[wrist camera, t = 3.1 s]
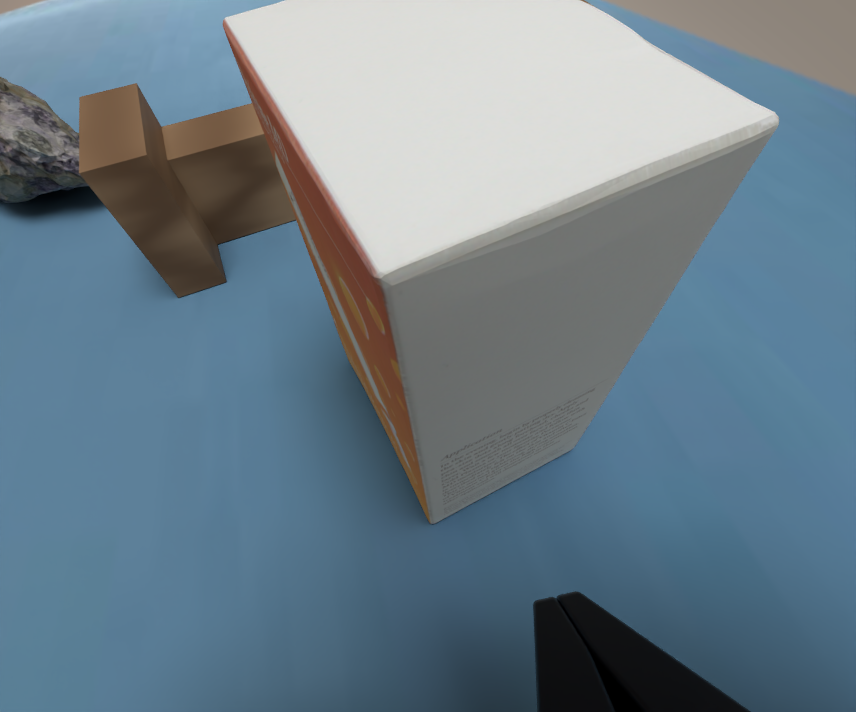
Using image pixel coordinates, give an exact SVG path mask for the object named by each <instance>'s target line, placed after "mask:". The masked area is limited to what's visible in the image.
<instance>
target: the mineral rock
mask: <svg viewBox="0 0 856 712" xmlns="http://www.w3.org/2000/svg"><path fill="white" fill-rule="evenodd" d="M83 186H89V185H88V184H87V183H86V181H85V180H84V179H83V178H82V176H81V175H80V174H79V133H77V132H75V131H74V130H73V129H72V128H71V127H70V126H69V125H68V124H67V123H65V122H64V121H63V120H62V119H60V118H59V117H58V116H57V115H56V114H55V113H54V112H53V110H52V109H51V108H50V106H49V105H48V104H47V103H46V101H44V100H42V99H40V98H39V97H37V96H36V95H34V94H33V93H31V92H29V91H28V90H26V89H24V88H23V87H21V86H17V85H14V84H11V83H9V82H8V81H7V80H6V79H4V78H2V77H0V201H3V202H5V203H12V202H24V201H28V200H31V199H33V198H35V197H36V196H38V195H39V194H44V193H49V192H52V191H58V190H59V189H63V190H71V189H74V187H75V188H76V187H83Z"/></svg>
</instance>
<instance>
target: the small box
mask: <svg viewBox="0 0 856 712" xmlns="http://www.w3.org/2000/svg"><path fill="white" fill-rule="evenodd" d="M223 27H224V30H225V33H226V36H227V38H228V41H229V44H230V46H231V49H232V51H233V54H234V57H235V59H236V62H237V64H238V67H239V69H240V72H241V75H242V77H243V80H244V82H245V85H246V88H247V90H248V93H249V95H250V98H251V101H252V103H253V106H254V109H255V111H256V114H257V116H258V119H259V122H260V124H261V127H262V130H263V132H264V135H265V138H266V140H267V143H268V145H269V148H270V151H271V153H272V156H273V159H274V161H275V164H276V167H277V169H278V172H279V175H280V178H281V180H282V183H283V186H284V188H285V191H286V194H287V196H288V199H289V202H290V204H291V207H292V210H293V212H294V215H295V218H296V220H297V223H298V226H299V228H300V231H301V234H302V236H303V239H304V242H305V244H306V247H307V250H308V252H309V255H310V258H311V260H312V263H313V266H314V268H315V271H316V273H317V276H318V279H319V281H320V284H321V286H322V289H323V292H324V294H325V297H326V300H327V302H328V305H329V308H330V311H331V314H332V317H333V320H334V323H335V325H336V328H337V331H338V334H339V336H340V339H341V342H342V344H343V347H344V349H345V352H346V355H347V357H348V360H349V362H350V364H351V366H352V367H353V369H354V371H355V373H356V374H357V376H358V378H359V380H360V381H361V383H362V385H363V387H364V389H365V391H366V393H367V395H368V397H369V399H370V401H371V403H372V405H373V407H374V409H375V411H376V413H377V415H378V417H379V419H380V421H381V423H382V425H383V427H384V429H385V431H386V433H387V435H388V437H389V439H390V441H391V443H392V445H393V447H394V449H395V451H396V454H397V456H398V458H399V460H400V462H401V464H402V466H403V468H404V470H405V472H406V474H407V476H408V478H409V481H410V483H411V485H412V487H413V489H414V491H415V493H416V495H417V497H418V500H419V502H420V504H421V506H422V508H423V510H424V513H425V515H426V517H427V519H428V521H429V522H430V523H431V524H435V523H437V522H439V521H441V520H442V519H444V518H446V517H448V516H450V515H451V514H453V513H455V512H457V511H459V510H461V509H463V508H464V507H466V506H468V505H470V504H472V503H474V502H476V501H477V500H479V499H481V498H483V497H485V496H487V495H489V494H490V493H492V492H494V491H496V490H498V489H500V488H501V487H503V486H505V485H507V484H509V483H511V482H513V481H514V480H516V479H518V478H520V477H522V476H524V475H525V474H527V473H529V472H531V471H533V470H535V469H537V468H539V467H541V466H542V465H544V464H546V463H548V462H550V461H552V460H553V459H555V458H557V457H559V456H561V455H563V454H565V453H567V452H568V451H570V450H572V449H573V448H574V447H575V446H576V444H577V443H578V441H579V439H580V438H581V436H582V435H583V433H584V432H585V430H586V429H587V427H588V425H589V424H590V422H591V421H592V419H593V418H594V416H595V414H596V413H597V411H598V410H599V408H600V407H601V405H602V404H603V402H604V400H605V399H606V397H607V395H608V394H609V392H610V391H611V389H612V388H613V386H614V384H615V383H616V381H617V379H618V378H619V376H620V374H621V373H622V371H623V369H624V368H625V366H626V364H627V363H628V361H629V359H630V358H631V356H632V355H633V353H634V351H635V350H636V348H637V347H638V345H639V343H640V342H641V341H642V339H643V337H644V336H645V334H646V332H647V331H648V329H649V328H650V326H651V325H652V323H653V322H654V320H655V319H656V317H657V315H658V314H659V312H660V311H661V309H662V307H663V306H664V304H665V302H666V301H667V299H668V298H669V296H670V294H671V293H672V291H673V290H674V288H675V286H676V285H677V283H678V282H679V280H680V278H681V277H682V275H683V273H684V272H685V270H686V269H687V267H688V265H689V264H690V262H691V261H692V259H693V257H694V256H695V254H696V253H697V251H698V249H699V248H700V246H701V244H702V243H703V241H704V240H705V238H706V236H707V235H708V233H709V232H710V230H711V229H712V227H713V225H714V224H715V222H716V221H717V219H718V218H719V216H720V215H721V213H722V212H723V210H724V209H725V207H726V206H727V204H728V202H729V200H730V199H731V197H732V195H733V194H734V192H735V191H736V189H737V188H738V186H739V185H740V183H741V181H742V180H743V178H744V177H745V175H746V174H747V172H748V171H749V169H750V168H751V166H752V165H753V163H754V162H755V160H756V159H757V157H758V156H759V154H760V153H761V151H762V150H763V148H764V147H765V145H766V143H767V142H768V140H769V139H770V137H771V136H772V134H773V133H774V131H775V130H776V128H777V127H778V124H779V117H778V116H777V115H776V113H775V112H773V111H771V110H769V109H767V108H765V107H763V106H761V105H758V104H756V103H754V102H752V101H750V100H749V99H747V98H745V97H743V96H742V95H740V94H738V93H737V92H735V91H733V90H731V89H729V88H728V87H726V86H724V85H722V84H721V83H719V82H717V81H715V80H714V79H712V78H710V77H708V76H707V75H705V74H703V73H701V72H700V71H698V70H696V69H694V68H693V67H691V66H689V65H687V64H686V63H684V62H682V61H680V60H678V59H677V58H675V57H673V56H671V55H670V54H668V53H666V52H664V51H662V50H661V49H659V48H657V47H656V46H654V45H652V44H651V43H649V42H647V41H646V40H645V39H643V38H642V37H641V36H639V35H638V34H637V33H636V32H634V31H633V30H632V29H630V28H629V27H627V26H626V25H624V24H622V23H621V22H619V21H618V20H616V19H615V18H613V17H612V16H610V15H608V14H606V13H604V12H603V11H601V10H599V9H597V8H595V7H594V6H592V5H590V4H587V3H585V2H583V1H580V0H286V1H282V2H279V3H276V4H272V5H268V6H265V7H261V8H258V9H254V10H251V11H247V12H244V13H240V14H237V15H233V16H230V17H226V18H225V19H224V20H223Z"/></svg>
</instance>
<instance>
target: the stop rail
mask: <svg viewBox="0 0 856 712" xmlns="http://www.w3.org/2000/svg"><path fill="white" fill-rule="evenodd" d="M580 1H583V2H585V3H587V4H589V3H588V2H586V1H584V0H580ZM590 5H591V4H590ZM592 6H593V5H592ZM595 8H596V7H595ZM79 174H80V175H81V176H82V178H83V179H84V180H85V181H86V183H87V184H88V185H89V186H90V188H91V189H92V190H93V191H94V193H95V194H96V195H97V196H98V198H99V199H100V200H101V201H102V203H103V204H104V205H105V206H106V208H107V209H108V210H109V211H110V213H111V214H112V215H113V216H114V218H115V219H116V220H117V221H118V223H119V224H120V225H121V226H122V228H123V229H124V230H125V231H126V233H127V234H128V235H129V236H130V238H131V239H132V240H133V241H134V243H135V244H136V245H137V247H138V248H139V249H140V250H141V252H142V253H143V254H144V255H145V257H146V258H147V259H148V260H149V262H150V263H151V264H152V265H153V267H154V268H155V269H156V270H157V272H158V273H159V274H160V275H161V277H162V278H163V279H164V280H165V282H166V283H167V284H168V285H169V287H170V288H171V289H172V290H173V292H174V293H175V294H176V295H177V297H178V298H179V297H182V296H185V295H188V294H191V293H194V292H197V291H200V290H203V289H206V288H209V287H212V286H215V285H218V284H222V283H225V282H226V278H225V274H224V270H223V266H222V262H221V258H220V253H219V249H218V245H217V244H220V243H223V242H227V241H230V240H233V239H236V238H239V237H242V236H246V235H249V234H252V233H255V232H258V231H262V230H265V229H268V228H271V227H274V226H277V225H281V224H284V223H287V222H290V221H293V220H296V218H295V215H294V212H293V210H292V207H291V204H290V202H289V199H288V196H287V194H286V191H285V188H284V186H283V183H282V180H281V178H280V175H279V172H278V169H277V167H276V164H275V161H274V159H273V156H272V153H271V151H270V148H269V145H268V143H267V140H266V138H265V135H264V132H263V130H262V127H261V124H260V122H259V119H258V116H257V114H256V111H255V109H254V106H253V103H251V104H248V105H244V106H240V107H236V108H232V109H229V110H225V111H221V112H217V113H213V114H209V115H206V116H202V117H198V118H194V119H190V120H187V121H183V122H179V123H175V124H171V125H167V126H164V127H161V126H160V124H159V122H158V120H157V118H156V117H155V115H154V113H153V111H152V110H151V108H150V106H149V104H148V103H147V101H146V99H145V97H144V96H143V94H142V92H141V90H140V88H139V87H138V85H137V83H136V84H132V85H128V86H124V87H119V88H115V89H111V90H107V91H103V92H99V93H95V94H91V95H86V96H82V97H80V108H79Z"/></svg>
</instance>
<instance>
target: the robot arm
mask: <svg viewBox="0 0 856 712" xmlns="http://www.w3.org/2000/svg"><path fill="white" fill-rule="evenodd" d="M533 612H534V638H535V663H536V688H537V712H751V711H749V710H748V709H746V708H745V707H743V706H742V705H741V704H739V703H738V702H736V701H735V700H733V699H732V698H731V697H729V696H728V695H726V694H725V693H723V692H722V691H721V690H719V689H718V688H716V687H715V686H713V685H712V684H711V683H709V682H708V681H706V680H705V679H703V678H702V677H700V676H699V675H698V674H696V673H695V672H693V671H692V670H690V669H689V668H688V667H686V666H685V665H683V664H682V663H680V662H679V661H678V660H676V659H675V658H673V657H672V656H670V655H669V654H668V653H666V652H665V651H663V650H662V649H660V648H659V647H657V646H656V645H655V644H653V643H652V642H650V641H649V640H647V639H646V638H645V637H643V636H642V635H640V634H639V633H637V632H636V631H635V630H633V629H632V628H630V627H629V626H627V625H626V624H625V623H623V622H622V621H620V620H619V619H617V618H616V617H615V616H613V615H612V614H610V613H609V612H607V611H606V610H604V609H603V608H602V607H600V606H599V605H597V604H596V603H594V602H593V601H592V600H590V599H589V598H587V597H586V596H584V595H583V594H582V593H580V592H576V591H575V592H570V593H566V594H562V595H559V596H558V597H557V598H554V597H549V598H545V599H541V600H537V601H535V602H534V604H533Z"/></svg>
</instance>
